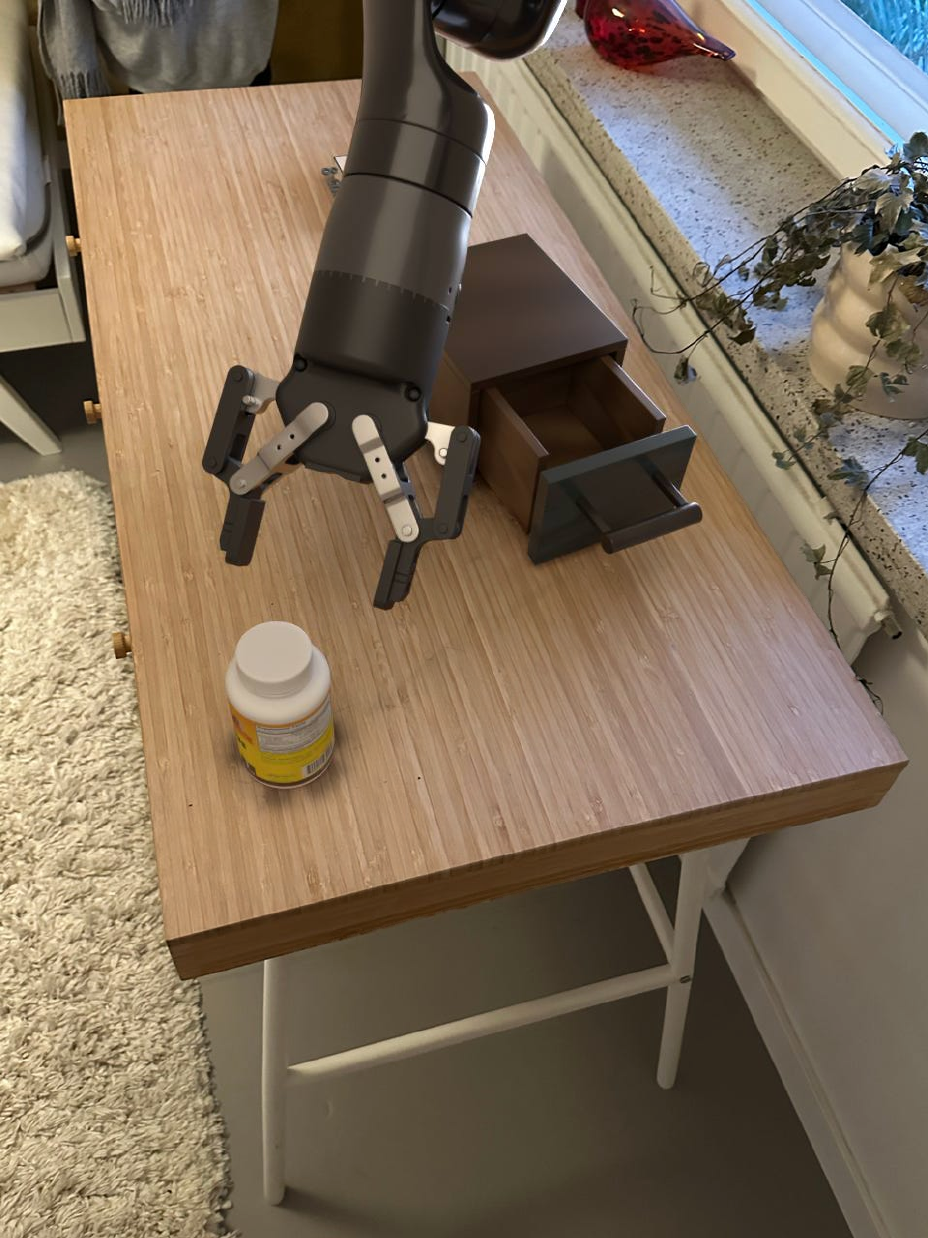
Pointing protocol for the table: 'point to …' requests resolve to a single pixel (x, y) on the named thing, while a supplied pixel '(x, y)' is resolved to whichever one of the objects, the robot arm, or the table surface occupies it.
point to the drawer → (583, 459)
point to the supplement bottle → (281, 705)
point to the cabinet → (514, 327)
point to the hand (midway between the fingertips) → (309, 586)
